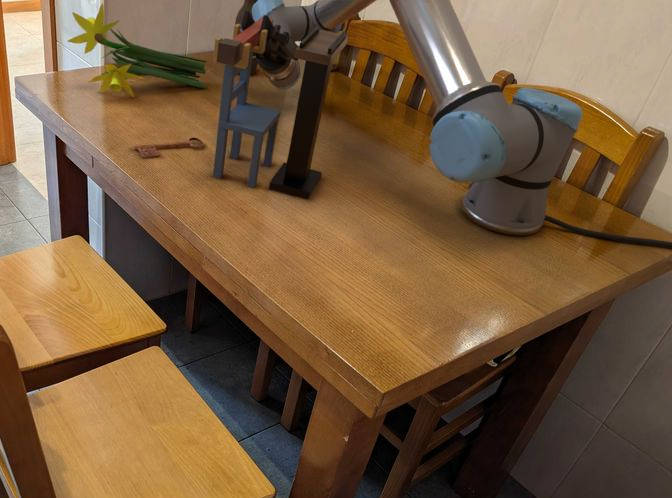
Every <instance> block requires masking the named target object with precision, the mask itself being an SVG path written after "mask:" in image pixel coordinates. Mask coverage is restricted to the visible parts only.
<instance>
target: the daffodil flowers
mask: <svg viewBox="0 0 672 498" xmlns="http://www.w3.org/2000/svg"><path fill="white" fill-rule="evenodd" d="M104 9H105V8H104V3H101V4H100V7H99V9H98V12H97V15H96V17H92V16H91V17H88V18H85V17H84V16H81V15H80V14H78V13H76V12H71V14H72V16H73V18H74V20H75V21H76V23H77V24H78V26H79V27H81V29H82V30H84V31H85V32H84V33H81V34H78V35H77V36H74V37H72V38H70V39H68V40H67V43H72V44H84V43H85V46H84V47H85V48H84V55H85V54H88V53H90V52H92V51H93V50H94V49H95V48H96V46H97V44H100V45H102V46H104V47H107V48H110V49H111V48H112V49H113V50H109V52H108V53H106V54H105V55H103V56H102V57H101V59H104V58H106V57H107V56H109V55H111V54H112V55H113V56H114V57H112V58H111V59H112V60H113V61H114V62H115V63H116V64H117V65H115V64H112V63H105V64H104V66H105V70H106V71H104V72H101V74H98V75H96V76H93V77H92V79H90V80H89V81H88V83H93V82H99V81H100V82H101V81H102V82H101V85H100V88H99V94H101V93H103V92H105V91H106V90H107V89H110V91H113V92H116V93H117V92H119V93H120V92H121V90H122V89H123V90H124V91H126V92H127V93H128V94H129V95H130V96H131V97H132V98H135V94H134V91H133V90H132V87H131V86H130V84H129V82H128V81H127V80H130V79H133V80H134V79H140V80H145V76H149V77H154V78H159V79H162V80H166V81H170V82H175V83H179V84H181V85H182V84H183V85H187V86H191V87H195V88H200V89H206V83H205V82H203V81H200V80H199V78H201V75H198V74H202V75H206V74H207V73H206V72H207V69H206V68H205V63H207V62H208V60H205V59H201V58H197V57H192V56H188V55H187V56H186V55H182V54H176V53H170V52H166V51H165V52H164V51H159V50H155V49H152V48H148V47H145V46H141V45H138V44H134V43H132V42H130V41H128V40H127V39H126V37H125V36H124V35H123V34H122V33H121V31H120V30H117V32H118V33H117V32H116V31H114V30H113V28H114V27H115V26H116V25H117V24H118V23H119V22H120V19H118V20H116V21H113V22H110V23H107V24H105V11H104ZM108 31H111V33H112V34H113V35H114V37H115V38H117V39H118V40H119V42H121V43H118V42H114V41H111V40H109V39H108V38H107V36H106V33H107V32H108ZM130 59H131V60H130ZM197 73H198V74H197ZM143 76H144V77H143Z"/></svg>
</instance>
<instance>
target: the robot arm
mask: <svg viewBox="0 0 672 498" xmlns="http://www.w3.org/2000/svg"><path fill="white" fill-rule="evenodd" d="M376 1H377V0H316V1H315V2H313V3H312V4H310V5H292V6H291V5H290V6H286V5H285V2H284V0H258V1H257V2H256V3H255V4H254V5H253V7H252V15H253V18H252V16H251V14H250V12H249V11H245V13H244V17H243V21H242V22H239V24H240V25H241V28H240V33H241V32H243V31H244V30H245V29H247V28H248V27H250V26H251V25H252V24H254V23H255V22H256V21H258V20H259V19H260V18H262V17H263V21H262V24H261V28H260V31H262V30H268V31H267V38H266V45H265V52H264V53H263V54H260V53H255V56H256V60H257V62H258V63H257V65H258V66H259V68H261V70H262V71H263V72H264V74H265V76H266V77H267V79H268V82H270V84H271V85H273V86H274V87H276V88H277V89H279V90H289V89H291V88H293V87H294V86H295V85H296V84H297V83H298V82H299V80H300V78H301V66H300V61H299V59H296V58H294V57H295V51H296V48H297V47H298V46H299V45H298V44H297V43H296V42H301V41H302V40H303V39H304V38H305V37H306V36H307V35H308V34H309V33H310V32H311V31H312V30H313V29H314V28H316V27H317V26H320V30H323V31H328V32H333V33H338V32H339V30H340V29H341V26H342V24H343V23H344V22H345V23H346V22H347V21H349V20H350V19H352V18H353V17H354V16H357V15H358V14H359V13H361V12H362V11H364V9H366V8H367V7H369V6H370V5H372V4H373V3H376ZM388 1H389V3H390V5H391V7H392V10H393V13H394V14H395V17H396V19H397V21H398V24H399V26H400V28H401V30H402V33H403V35H404V38H405V39H406V42H407V44H408V46H409V48H410V51H411V53H412V56H413V58H414V60H415V62H416V65H417V68H418V69H419V71H420V74H421V76H422V78H423V81H424V84H425V85H426V87H427V90H428V92H429V94H430V97H431V99H432V102H433V103H434V106H435V111H434V113H433V116H432V118H431V123H432V125H433V128H432V131H431V133H430V138H429V140H431V142H430V144H429V153H430V157H431V160H432V163H433V164H434V166H435V168H436V169H437V170H438V172H439V173H440V174H441V175H442V176H444V177H445V178H446V179H448V180H450V181H453V182H456V183H460V184H468V183H469V184H468V187H467V191H466V192H465V194H464V195H463V198H462V200H461V203H460V210H461V212H462V213H463V214H464V216H465V217H466V218H467V219H469V221H471V222H472V223H474V224H476V225H478V226H479V227H481V228H484V229H486V230H489V231H492V232H493V233H494V232H495V233H498V234H502V235H508V236H515V237H517V236H518V237H523V236H530V235H534V234H536V233H538V232H539V231H540V230H541V229H542V226H543V224H544V222H545V221H546V222H548V223H550V224H552V225H556V226H558V227H560V228H563V229H565V230H568V231H571V232H573V233H577V234H582V235H585V236H589V237H595V238H601V239H607V240H614V241H618V242H625V243H633V244H634V243H635V244H644V245H651V246H658V247H665V248H672V241H667V240H660V239H659V240H658V239H652V238H643V237H636V236H635V237H634V236H626V235H619V234H613V233H607V232H600V231H595V230H590V229H586V228H582V227H578V226H575V225H572V224H569V223H567V222H565V221H562V220H560V219H557V218H555V217H552V216H550V215H547V214H546V212H547V205H548V193H549V188H550V186H551V184H552V182H553V180H554V177H555V176H556V173H557V172H558V169H559V168H560V165H561V163H562V161H563V159H564V157H565V155H566V153H567V151H568V149H569V147H570V145H571V143H572V141H573V139H574V137H575V135H576V133H577V132H578V130H579V125H580V124H581V121H582V118H583V115H584V114H583V110H582V107H580V105H578V104H577V103H575V102H574V101H572V100H570V99H568V98H566V97H563V96H560V95H558V94H555V93H552V92H548V91H546V90H541V89H537V88H531V87H521V88H519V89H518V90H517V91H516V92H515V94H514V95H513V97H512V101H511V103H508V100H507V99H506V96H505V94H504V92H503V90H502V88H501V86H500V84H498V83H496V82H491V81H488V80H486V77H485V75H484V73H483V70H482V69H481V67H480V64H479V62H478V59H477V58H476V54H475V52H474V51H473V49H472V46H471V44H470V42H469V40H468V37H467V36H466V33H465V31H464V29H463V27H462V24H461V22H460V20H459V17H458V16H457V13H456V11H455V9H454V6H453V4H452V2H451V0H388ZM270 19H273V25H272V23H271V21H270ZM259 43H260V42H259ZM259 43H258V44H257V45H256V46H259Z"/></svg>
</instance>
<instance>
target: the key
mask: <svg viewBox="0 0 672 498" xmlns="http://www.w3.org/2000/svg"><path fill="white" fill-rule="evenodd" d="M193 141H195V142H198V143H199V144H195V142H193ZM185 146H190V147H191V148H194V149H200V148H202V147H203V146H204V143H203V141H202V140H201V139H200V138H198V137H190V138H188V139H187V141H176V142H164V143H151V144H140V145H133V150H135V151H138V152H139V154H140V156H141V158H143V159H144V158H153V157H160V154H159V152H158V150H157V149H160V148H161V149H163V148H170V147H185Z"/></svg>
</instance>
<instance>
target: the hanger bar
mask: <svg viewBox="0 0 672 498" xmlns="http://www.w3.org/2000/svg"><path fill="white" fill-rule="evenodd" d="M262 21H263V17H262V18H260V19H259V20H258V21H256V22H255V23H254V24H252V25H251V26H250V27H248V28H247V29H245V30H244V31H243V32H241V33H240V34H239V35H237V36H236V37H235V38H233V37H232V39H231V38H226V37H224V38H222V40H221V41H220V42H219V43H218V53H217V62H218V63H217V64H220V63H222V64H221V65H225V64H227V65H231V66H234V65H236V64H237V63H238V62H239V61H240V58H241V57H242V55H243V47H244V45H245V44H246V43H249V44H251V46H250V50H251V49H252V48H253V47H255V46H256V45H257V44H258V43H259V42H260V36H261V31H260V28H261V24H262ZM270 21H271V23H272V25H273V19H270Z"/></svg>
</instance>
